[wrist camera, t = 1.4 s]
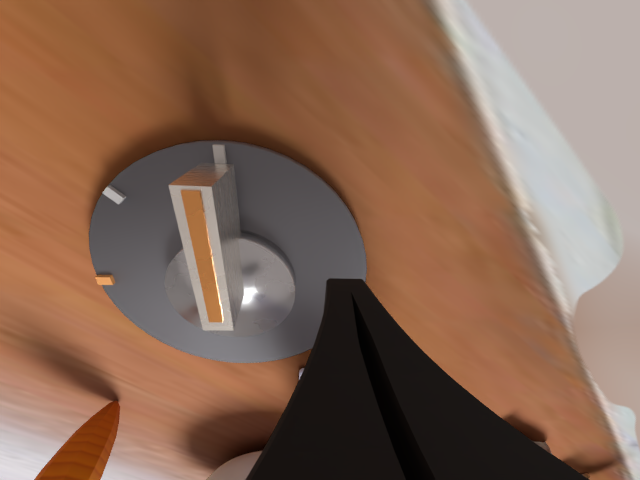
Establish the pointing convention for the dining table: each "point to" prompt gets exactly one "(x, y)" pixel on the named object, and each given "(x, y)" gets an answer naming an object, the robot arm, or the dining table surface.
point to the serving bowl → (236, 467)
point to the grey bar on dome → (224, 260)
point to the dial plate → (255, 216)
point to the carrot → (85, 449)
